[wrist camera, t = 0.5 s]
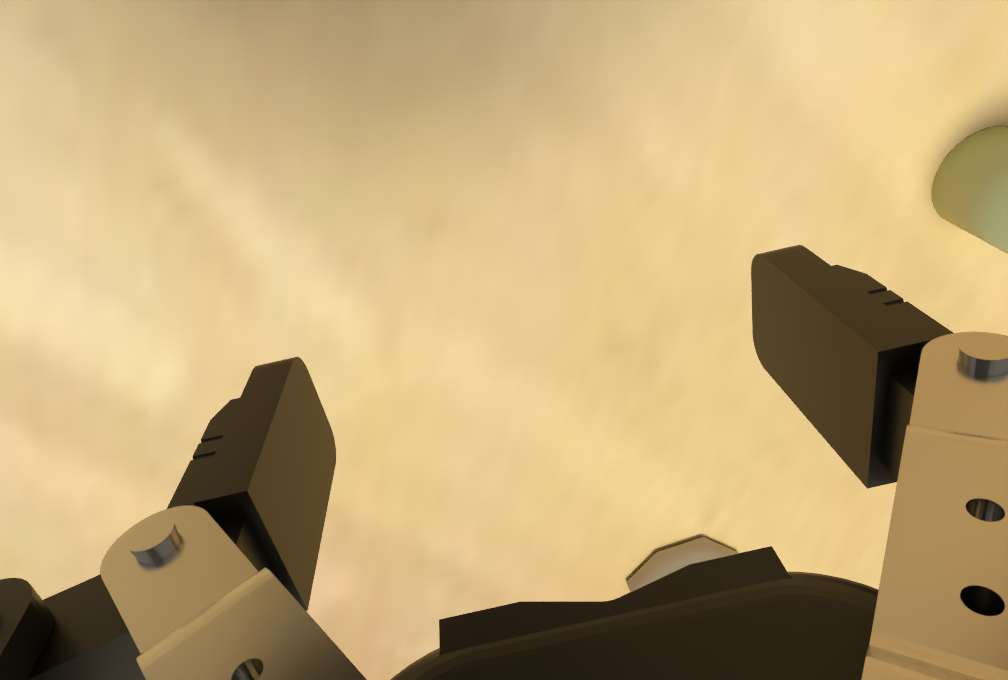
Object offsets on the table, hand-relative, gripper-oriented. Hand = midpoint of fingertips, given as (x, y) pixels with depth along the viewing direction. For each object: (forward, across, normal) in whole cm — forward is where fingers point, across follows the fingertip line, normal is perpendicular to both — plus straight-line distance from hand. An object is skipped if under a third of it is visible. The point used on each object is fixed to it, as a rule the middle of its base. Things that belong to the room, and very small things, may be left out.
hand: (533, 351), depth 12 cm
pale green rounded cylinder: (+17, -22, +6) cm, 28 cm away
